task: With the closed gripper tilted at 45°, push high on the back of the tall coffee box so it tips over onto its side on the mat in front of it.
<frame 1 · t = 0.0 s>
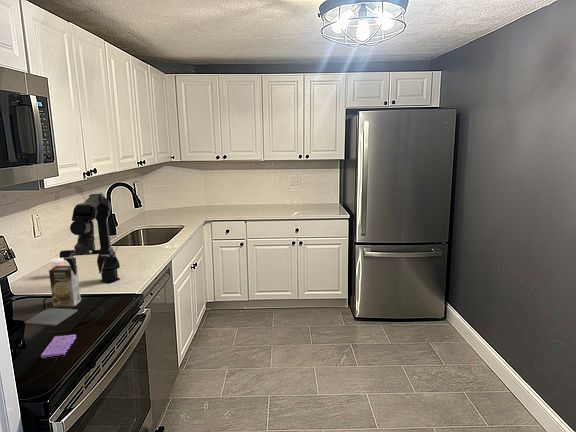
hand: (87, 274, 165), 15 cm above the worktop, tool pointing down, fingers open, 9 cm apart
tipping mat: (51, 317, 163), on the worktop
coffee box: (67, 304, 175), on the worktop
sponges: (59, 349, 140), on the worktop
beverage cup: (59, 276, 208), on the worktop
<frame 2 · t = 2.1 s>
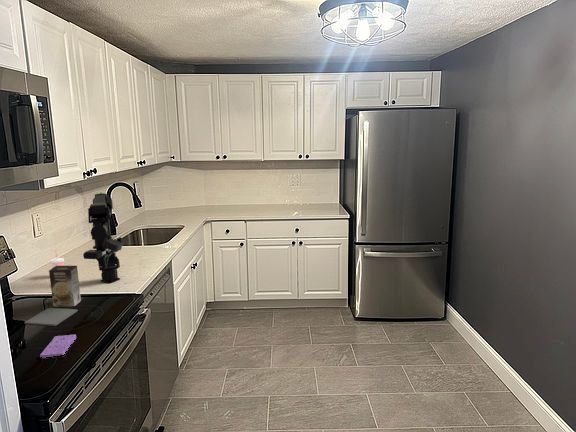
hand: (104, 268, 179), 13 cm above the worktop, tool pointing down, fingers closed
nothing on the worktop moved.
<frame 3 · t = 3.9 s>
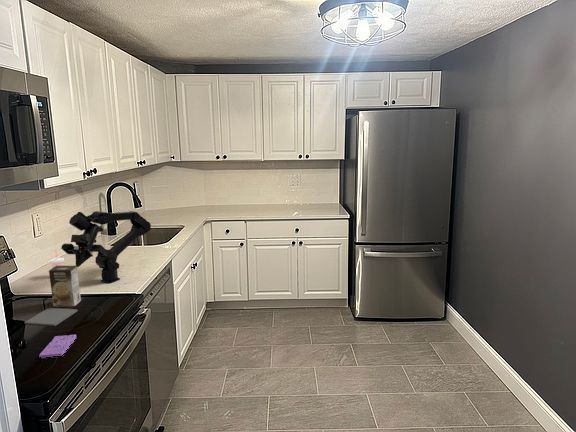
hand: (77, 266, 181), 14 cm above the worktop, tool tilted 45°, fingers closed
nothing on the worktop moved.
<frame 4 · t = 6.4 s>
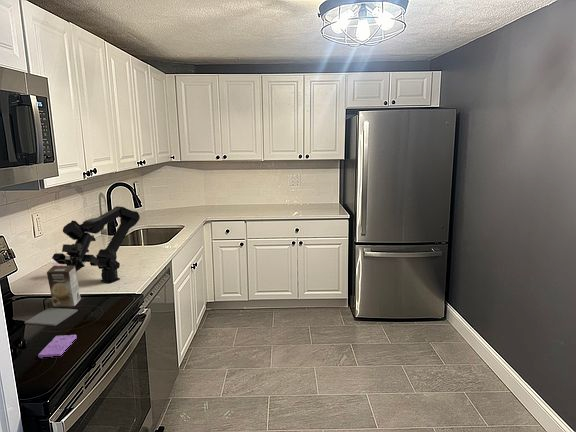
hand: (67, 277, 175), 11 cm above the worktop, tool tilted 45°, fingers closed
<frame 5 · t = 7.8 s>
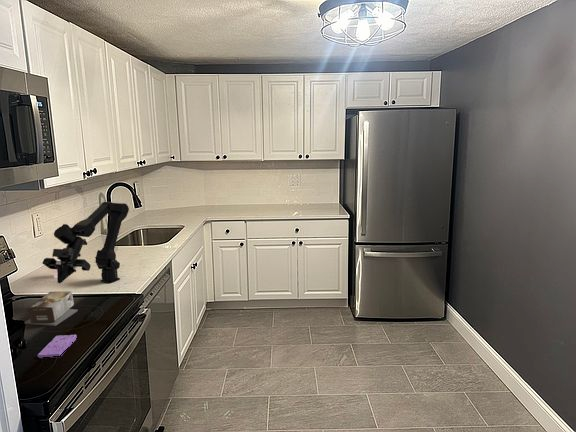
hand: (58, 282, 170), 11 cm above the worktop, tool tilted 45°, fingers closed
coffee box: (62, 297, 172), point 4 cm above the worktop, touching tipping mat
everything else where it was.
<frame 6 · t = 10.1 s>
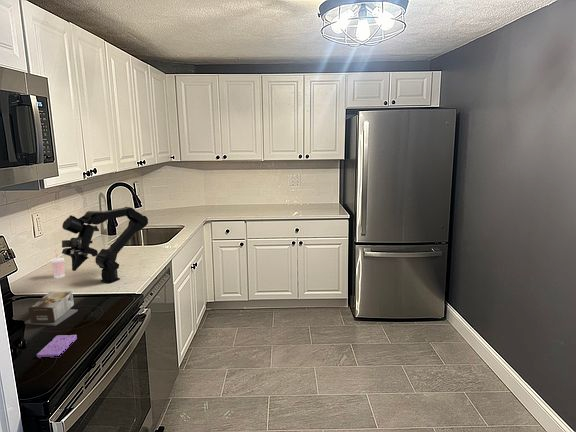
hand: (73, 270, 182), 11 cm above the worktop, tool tilted 35°, fingers closed
nothing on the worktop moved.
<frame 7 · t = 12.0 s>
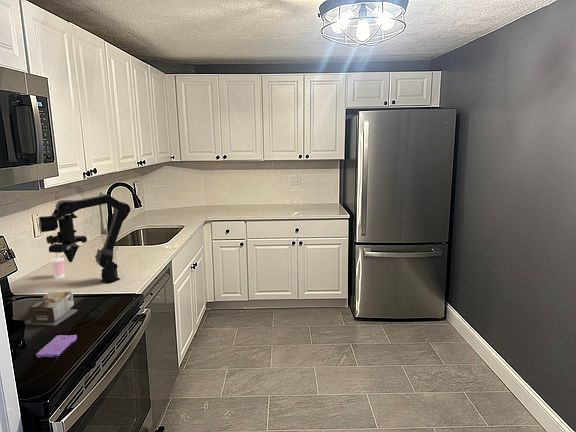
hand: (70, 261, 189), 13 cm above the worktop, tool pointing down, fingers closed
nothing on the worktop moved.
at the end: coffee box tilted 90°; coffee box touching tipping mat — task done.
